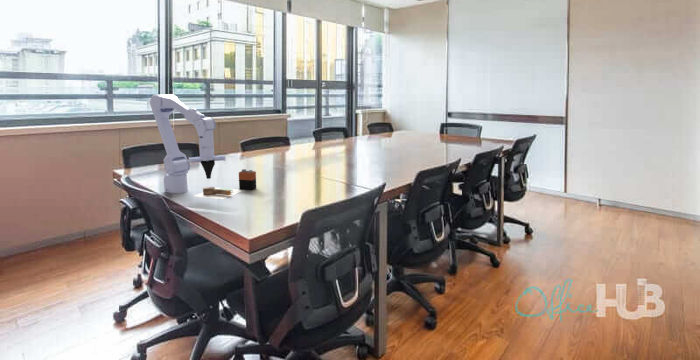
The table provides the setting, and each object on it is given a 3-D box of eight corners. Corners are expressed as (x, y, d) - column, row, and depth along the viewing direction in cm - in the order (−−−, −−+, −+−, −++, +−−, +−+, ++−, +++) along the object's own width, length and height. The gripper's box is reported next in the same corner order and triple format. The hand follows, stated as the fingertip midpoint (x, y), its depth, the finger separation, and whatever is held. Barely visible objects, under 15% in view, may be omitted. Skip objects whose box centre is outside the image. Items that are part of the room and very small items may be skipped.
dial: (200, 194, 187) (200, 189, 186) (207, 191, 192) (207, 186, 191) (226, 197, 183) (226, 191, 182) (233, 194, 188) (233, 189, 187)
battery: (243, 189, 201) (242, 168, 199) (256, 190, 200) (256, 169, 198) (239, 191, 197) (238, 170, 195) (252, 192, 196) (251, 171, 194)
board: (192, 198, 184) (192, 195, 184) (216, 189, 200) (216, 187, 200) (223, 201, 180) (222, 198, 180) (244, 192, 196) (244, 189, 195)
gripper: (189, 148, 172) (191, 181, 175) (226, 146, 179) (227, 178, 182) (187, 146, 178) (189, 178, 181) (222, 144, 185) (224, 175, 188)
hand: (208, 178), depth 182 cm, fingers closed
